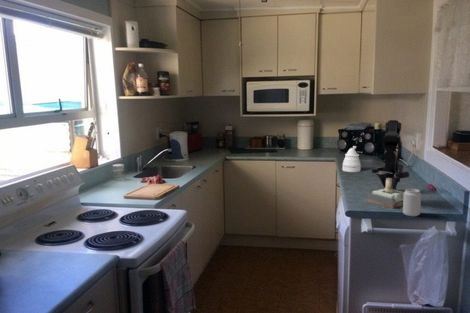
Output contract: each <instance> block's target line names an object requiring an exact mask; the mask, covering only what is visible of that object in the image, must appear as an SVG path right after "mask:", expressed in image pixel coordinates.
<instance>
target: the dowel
mask: <svg viewBox="0 0 470 313" xmlns="http://www.w3.org/2000/svg"><path fill="white" fill-rule="evenodd" d="M384 188H385V193H389V194H392V193H393V187H392V178H386V185H385V187H384Z"/></svg>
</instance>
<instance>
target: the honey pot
mask: <svg viewBox="0 0 470 313" xmlns="http://www.w3.org/2000/svg"><path fill="white" fill-rule="evenodd" d="M356 148H357V146H356V145H353V146H352V147H350V148H349V149H348V151H347V152H346V153H345V154H344V156H345V157H344V159H343V162H342V169H341V170H342V171H343V172H348V173H358V172H361V167H362V166H361V160H360V158H359V156H360V154H359V153H357V151H356Z"/></svg>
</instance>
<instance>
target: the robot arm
mask: <svg viewBox="0 0 470 313" xmlns="http://www.w3.org/2000/svg"><path fill="white" fill-rule="evenodd" d="M384 128H385V129H384V130H385V132H386V133H384V136H383V137H382V149H384V154H383V159H384V160H382V163H384V164H383V166H379V165H377V166H373V167H371V168H372V169H371V173H373V174H376V176H377V177H378V178H379V179H380V183H381V184H382V186H383V188H385V185H386V178H392V187H393V190H397V185H398V184H399V182H401V179H404V178H405V179H406V178H409V177H410V173H409V171H407V170H403V169H404V165H403V164H401V163H399V160H397V156H398V150H399V149H400V148H401V141H402V140H401V138H400V137H399V136H400V135H401V132H402V123H401V122H399V120H397V119H394V120H393V119H389V120H388V121H387V122H386V123H385V125H384Z"/></svg>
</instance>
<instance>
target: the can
mask: <svg viewBox="0 0 470 313" xmlns="http://www.w3.org/2000/svg"><path fill="white" fill-rule="evenodd" d="M404 190H405V191H403V192H404V199H403V206H402V213H403V214H404V215H405V216H407V217H411V218H413V217H418V216H420V215H421V209H422V208H421V205H422V203H421V202H422V193H421V190H420V189H417V188H406V189H404Z"/></svg>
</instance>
